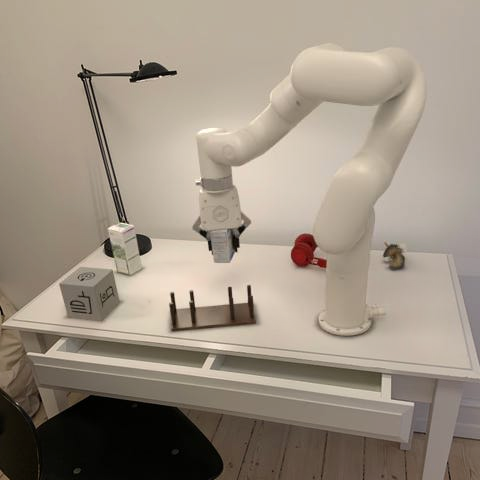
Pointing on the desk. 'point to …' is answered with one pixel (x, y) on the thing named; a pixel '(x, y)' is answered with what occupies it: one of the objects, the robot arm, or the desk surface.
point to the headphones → (306, 251)
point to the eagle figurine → (395, 255)
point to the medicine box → (222, 245)
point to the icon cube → (89, 293)
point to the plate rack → (212, 314)
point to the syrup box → (125, 248)
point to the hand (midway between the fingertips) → (224, 251)
